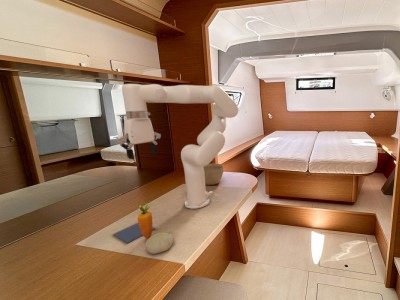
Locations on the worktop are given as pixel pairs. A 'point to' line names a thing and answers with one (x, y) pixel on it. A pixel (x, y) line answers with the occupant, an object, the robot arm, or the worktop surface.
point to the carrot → (145, 221)
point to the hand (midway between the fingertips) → (143, 156)
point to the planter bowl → (213, 173)
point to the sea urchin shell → (159, 243)
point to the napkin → (130, 233)
